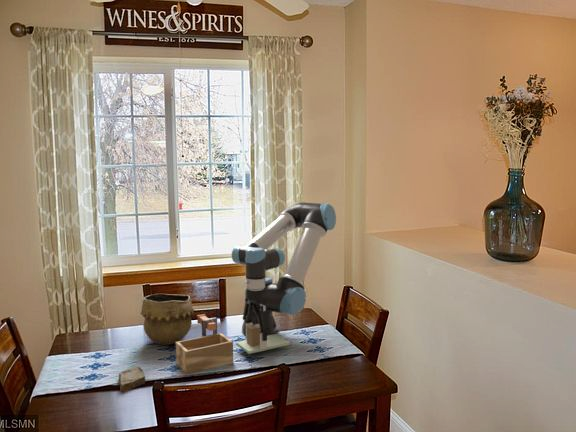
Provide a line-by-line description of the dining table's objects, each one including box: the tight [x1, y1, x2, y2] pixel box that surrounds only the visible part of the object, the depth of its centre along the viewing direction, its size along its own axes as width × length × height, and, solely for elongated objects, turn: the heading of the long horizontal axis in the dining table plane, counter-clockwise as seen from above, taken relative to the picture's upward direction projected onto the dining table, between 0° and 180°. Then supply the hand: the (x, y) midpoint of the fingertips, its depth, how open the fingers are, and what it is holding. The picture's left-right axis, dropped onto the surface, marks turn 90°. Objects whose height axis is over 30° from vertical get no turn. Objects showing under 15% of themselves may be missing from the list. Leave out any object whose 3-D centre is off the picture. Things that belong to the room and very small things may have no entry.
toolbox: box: [175, 332, 234, 375], centre depth 181 cm, size 11×18×8 cm, turn 121°
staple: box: [201, 317, 218, 337], centre depth 192 cm, size 2×6×13 cm, turn 121°
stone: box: [118, 366, 146, 393], centre depth 167 cm, size 15×8×3 cm, turn 21°
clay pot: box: [140, 293, 195, 346], centre depth 201 cm, size 21×21×20 cm
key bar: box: [196, 313, 216, 332], centre depth 194 cm, size 12×3×3 cm, turn 31°
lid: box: [235, 324, 291, 355], centre depth 193 cm, size 11×18×8 cm, turn 121°
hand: (256, 343), depth 191 cm, fingers closed on lid, 11 cm apart
